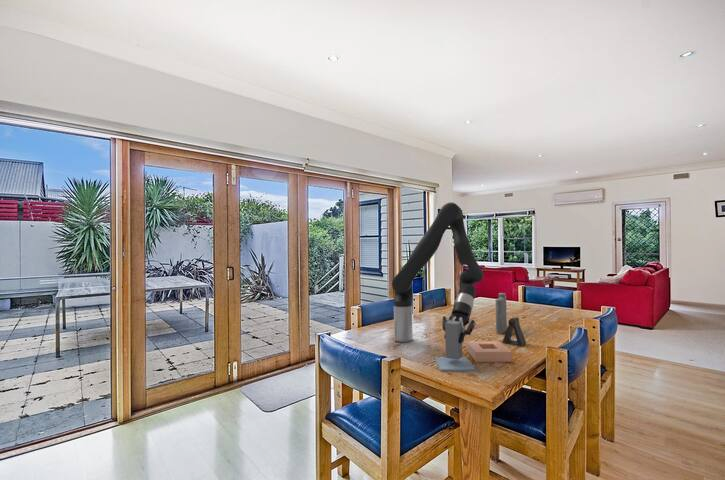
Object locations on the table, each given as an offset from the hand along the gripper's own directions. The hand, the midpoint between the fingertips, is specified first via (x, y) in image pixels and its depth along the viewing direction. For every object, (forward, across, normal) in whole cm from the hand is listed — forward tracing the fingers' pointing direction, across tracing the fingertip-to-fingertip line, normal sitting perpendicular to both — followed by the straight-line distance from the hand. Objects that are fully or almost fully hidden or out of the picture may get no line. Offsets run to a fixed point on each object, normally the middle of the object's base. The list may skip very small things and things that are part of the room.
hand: (453, 341), depth 138 cm
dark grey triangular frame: (-23, +13, +36) cm, 45 cm away
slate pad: (+7, 0, +6) cm, 9 cm away
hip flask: (-37, +2, +51) cm, 63 cm away
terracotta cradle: (-6, +8, +19) cm, 22 cm away
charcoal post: (+4, 0, +5) cm, 7 cm away
